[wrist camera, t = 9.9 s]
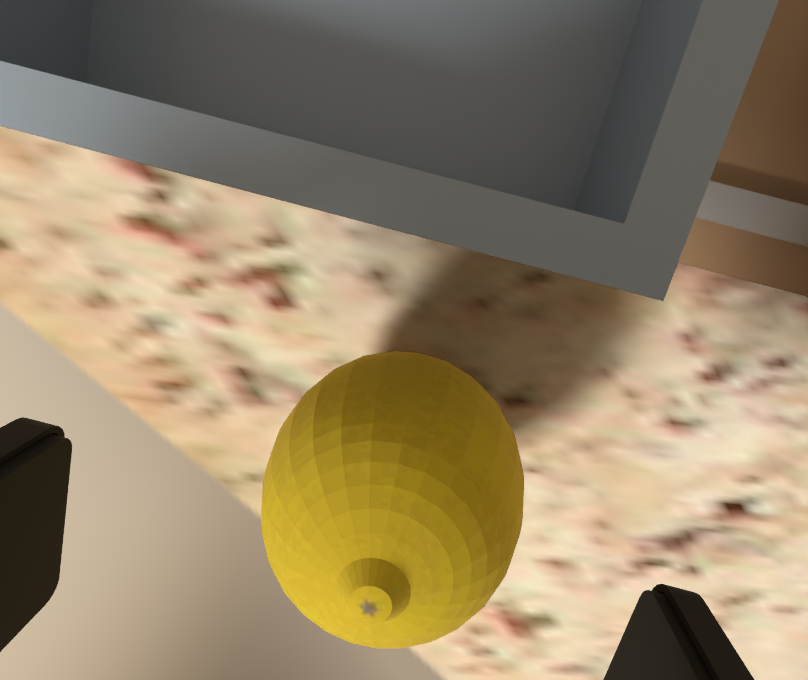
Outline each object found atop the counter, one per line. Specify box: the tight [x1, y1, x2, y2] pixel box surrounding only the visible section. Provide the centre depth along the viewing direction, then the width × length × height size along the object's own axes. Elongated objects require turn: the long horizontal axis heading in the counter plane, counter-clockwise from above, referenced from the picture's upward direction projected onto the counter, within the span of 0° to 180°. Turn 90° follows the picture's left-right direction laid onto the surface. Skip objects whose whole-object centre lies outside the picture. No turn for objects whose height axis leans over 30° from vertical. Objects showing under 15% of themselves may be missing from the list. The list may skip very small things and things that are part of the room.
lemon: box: [261, 351, 524, 648], centre depth 12 cm, size 6×6×8 cm
